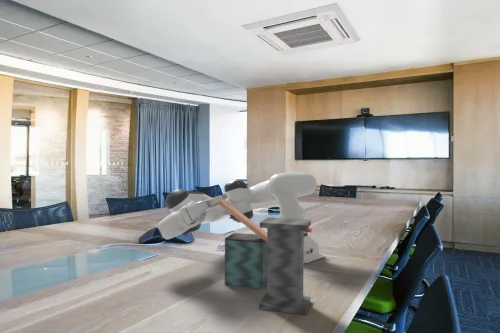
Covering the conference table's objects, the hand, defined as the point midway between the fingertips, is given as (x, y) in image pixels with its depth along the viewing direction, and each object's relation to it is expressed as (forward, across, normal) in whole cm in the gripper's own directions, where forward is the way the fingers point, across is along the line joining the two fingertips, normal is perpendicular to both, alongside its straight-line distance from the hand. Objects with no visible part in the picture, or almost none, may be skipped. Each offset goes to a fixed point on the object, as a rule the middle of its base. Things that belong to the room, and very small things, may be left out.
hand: (224, 196), depth 129 cm
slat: (+2, 0, -11) cm, 11 cm away
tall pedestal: (+7, +16, -40) cm, 43 cm away
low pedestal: (-8, 0, -32) cm, 32 cm away
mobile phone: (-30, -46, -20) cm, 58 cm away
